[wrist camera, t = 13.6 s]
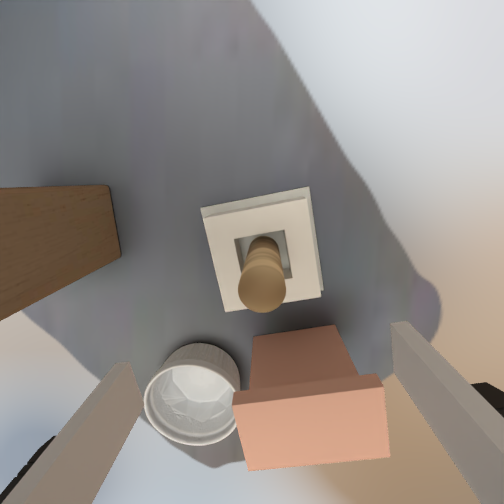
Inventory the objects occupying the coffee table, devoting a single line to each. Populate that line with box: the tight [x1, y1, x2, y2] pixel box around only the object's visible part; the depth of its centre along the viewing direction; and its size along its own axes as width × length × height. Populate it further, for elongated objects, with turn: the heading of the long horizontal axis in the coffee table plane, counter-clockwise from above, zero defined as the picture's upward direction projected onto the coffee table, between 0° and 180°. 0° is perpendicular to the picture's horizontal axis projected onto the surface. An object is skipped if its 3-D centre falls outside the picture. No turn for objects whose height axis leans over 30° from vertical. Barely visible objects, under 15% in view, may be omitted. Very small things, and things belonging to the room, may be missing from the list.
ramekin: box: [144, 343, 240, 446], centre depth 40 cm, size 13×13×7 cm
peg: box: [238, 236, 286, 313], centre depth 29 cm, size 4×4×14 cm
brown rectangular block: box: [232, 325, 390, 471], centre depth 31 cm, size 7×12×18 cm, turn 101°
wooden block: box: [0, 185, 121, 321], centre depth 28 cm, size 10×10×20 cm
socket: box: [200, 187, 324, 312], centre depth 35 cm, size 14×14×5 cm
